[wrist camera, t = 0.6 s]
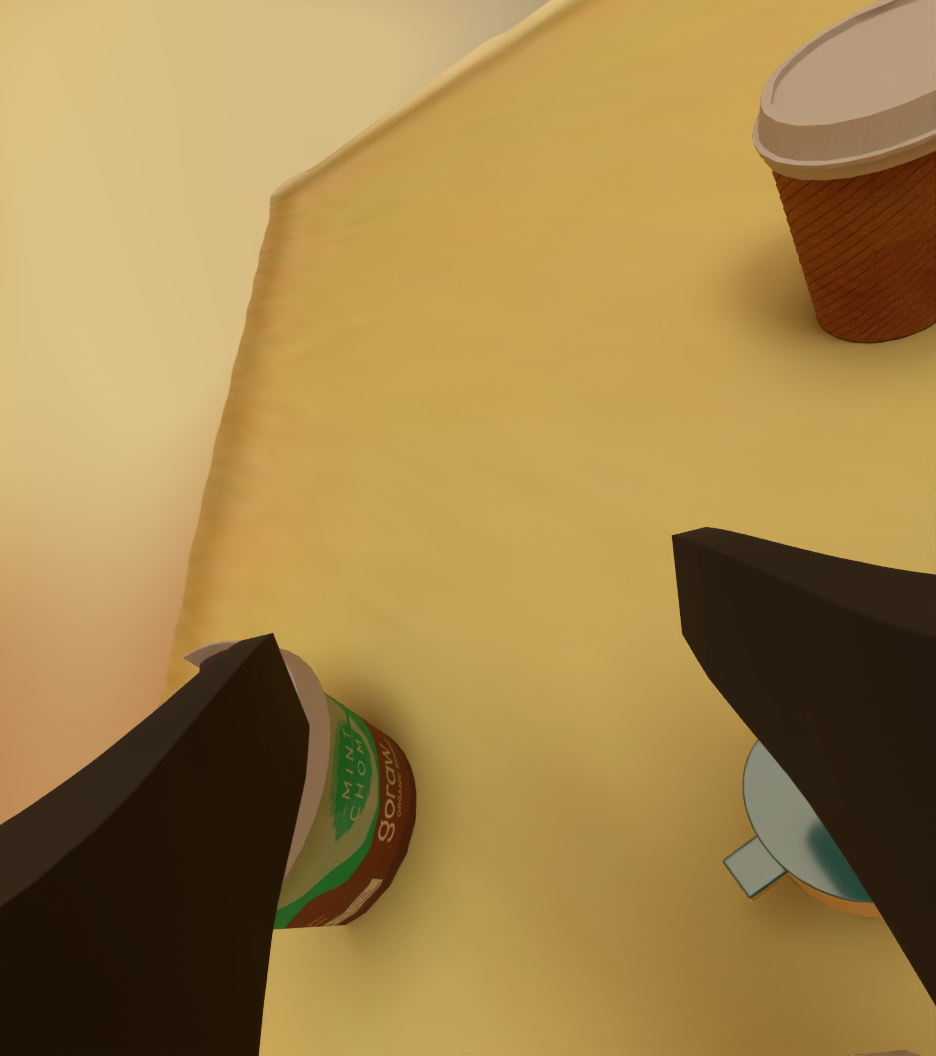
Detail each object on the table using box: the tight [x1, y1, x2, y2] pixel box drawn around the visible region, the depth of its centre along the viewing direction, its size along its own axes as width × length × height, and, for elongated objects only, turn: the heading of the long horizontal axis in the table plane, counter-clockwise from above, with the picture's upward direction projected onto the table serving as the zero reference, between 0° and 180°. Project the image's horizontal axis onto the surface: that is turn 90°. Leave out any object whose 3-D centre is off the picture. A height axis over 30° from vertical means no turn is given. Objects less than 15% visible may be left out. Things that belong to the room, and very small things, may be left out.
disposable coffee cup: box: [752, 0, 936, 342], centre depth 28 cm, size 10×10×12 cm
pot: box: [723, 740, 882, 918], centre depth 19 cm, size 5×8×5 cm
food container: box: [183, 641, 416, 929], centre depth 27 cm, size 12×6×10 cm, turn 15°
